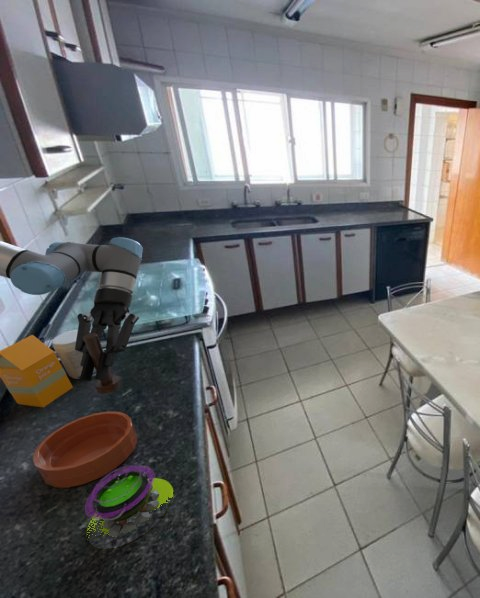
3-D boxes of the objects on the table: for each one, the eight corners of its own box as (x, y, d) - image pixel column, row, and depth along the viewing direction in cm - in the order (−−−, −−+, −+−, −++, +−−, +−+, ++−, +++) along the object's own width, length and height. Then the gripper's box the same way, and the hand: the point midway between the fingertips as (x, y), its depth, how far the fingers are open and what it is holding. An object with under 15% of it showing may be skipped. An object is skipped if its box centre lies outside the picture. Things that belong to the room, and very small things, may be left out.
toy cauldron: (83, 509, 71) (61, 476, 66) (164, 466, 80) (151, 435, 75) (90, 569, 61) (65, 535, 56) (182, 512, 71) (167, 479, 66)
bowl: (49, 449, 83) (39, 430, 80) (136, 420, 93) (130, 402, 91) (38, 505, 71) (26, 485, 68) (140, 464, 81) (133, 445, 78)
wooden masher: (97, 385, 87) (77, 334, 81) (121, 378, 90) (103, 328, 84) (97, 396, 84) (75, 343, 77) (121, 389, 87) (103, 337, 80)
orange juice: (20, 408, 94) (-18, 351, 85) (51, 387, 102) (20, 333, 93) (45, 410, 94) (11, 353, 85) (75, 389, 102) (46, 335, 93)
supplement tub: (115, 364, 114) (99, 328, 107) (94, 382, 106) (75, 344, 99) (86, 364, 113) (68, 328, 107) (62, 382, 105) (41, 344, 98)
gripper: (154, 296, 94) (136, 380, 86) (92, 296, 92) (68, 382, 84) (139, 287, 87) (118, 376, 79) (71, 286, 85) (43, 379, 77)
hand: (92, 379), depth 81 cm, fingers closed on wooden masher, 3 cm apart
